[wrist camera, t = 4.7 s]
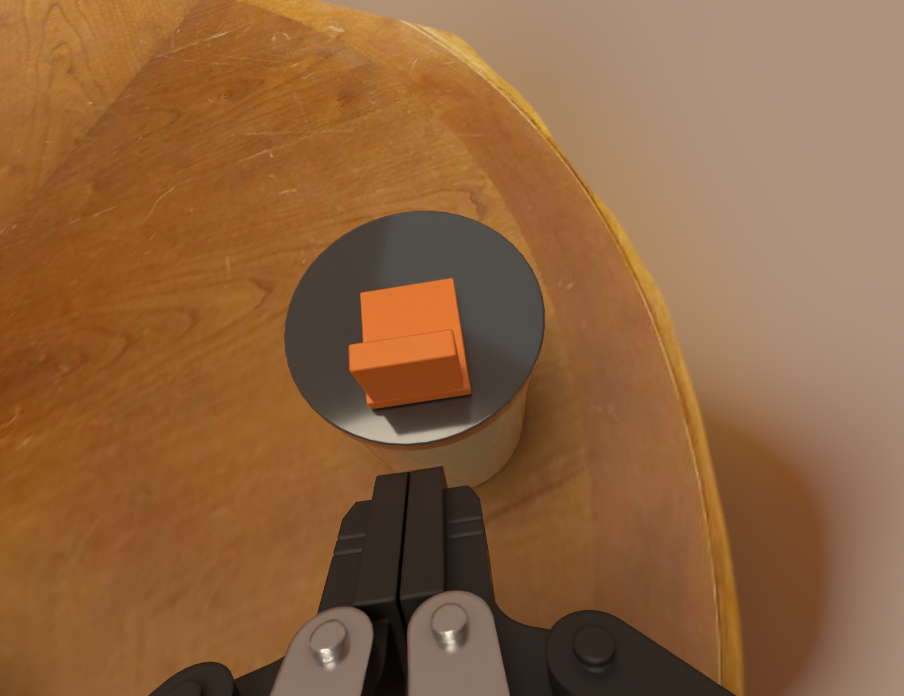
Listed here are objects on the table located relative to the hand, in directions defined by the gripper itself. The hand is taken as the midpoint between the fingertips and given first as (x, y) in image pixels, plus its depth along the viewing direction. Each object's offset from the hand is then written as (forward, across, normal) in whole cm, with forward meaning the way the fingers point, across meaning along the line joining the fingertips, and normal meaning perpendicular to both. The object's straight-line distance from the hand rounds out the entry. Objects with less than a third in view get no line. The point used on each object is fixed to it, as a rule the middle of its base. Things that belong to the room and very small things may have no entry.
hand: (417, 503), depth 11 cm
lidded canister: (+15, 0, +6) cm, 16 cm away
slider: (+6, 0, -2) cm, 6 cm away
